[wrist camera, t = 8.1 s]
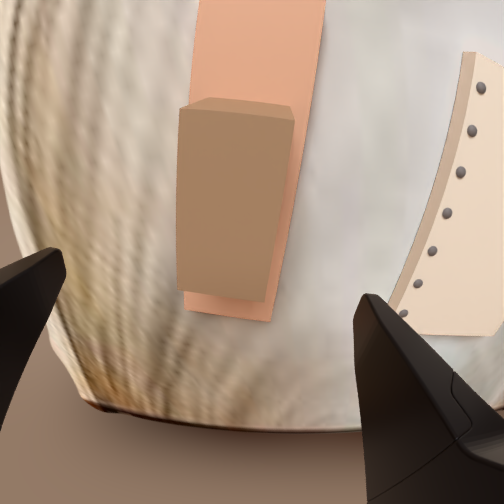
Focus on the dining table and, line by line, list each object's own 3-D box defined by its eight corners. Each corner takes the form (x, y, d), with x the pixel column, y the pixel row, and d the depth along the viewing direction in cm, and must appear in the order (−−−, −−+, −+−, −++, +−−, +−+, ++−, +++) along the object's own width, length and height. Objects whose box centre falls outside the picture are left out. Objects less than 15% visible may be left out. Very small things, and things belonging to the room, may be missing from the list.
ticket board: (570, 120, 12) (584, 125, 11) (487, 325, 23) (493, 336, 22) (463, 51, 12) (477, 51, 11) (380, 318, 23) (385, 332, 22)
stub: (322, 4, 12) (346, -31, 7) (270, 307, 23) (266, 380, 18) (207, -7, 12) (170, -43, 7) (189, 295, 23) (165, 364, 18)
